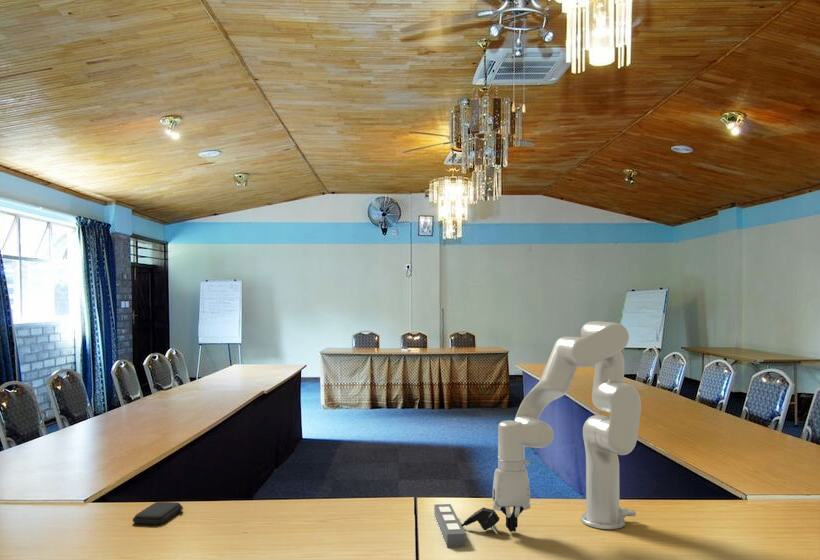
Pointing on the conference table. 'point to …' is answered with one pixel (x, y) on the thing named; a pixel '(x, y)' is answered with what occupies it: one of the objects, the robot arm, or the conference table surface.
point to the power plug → (484, 519)
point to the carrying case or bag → (157, 513)
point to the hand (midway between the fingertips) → (511, 529)
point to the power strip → (449, 525)
